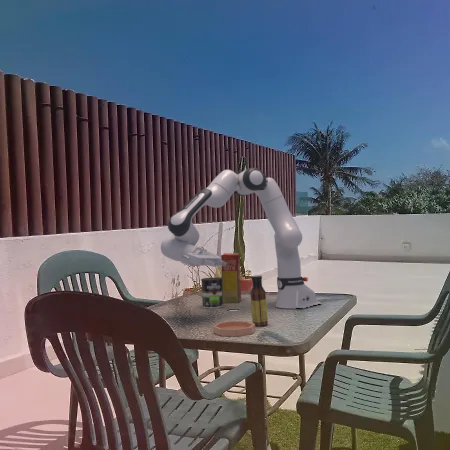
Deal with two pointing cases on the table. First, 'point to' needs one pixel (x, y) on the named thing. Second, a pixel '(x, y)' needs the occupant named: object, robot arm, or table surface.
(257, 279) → the sauce bottle
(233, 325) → the terracotta saucer
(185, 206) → the robot arm
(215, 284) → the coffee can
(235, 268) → the food packaging
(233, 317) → the table surface
